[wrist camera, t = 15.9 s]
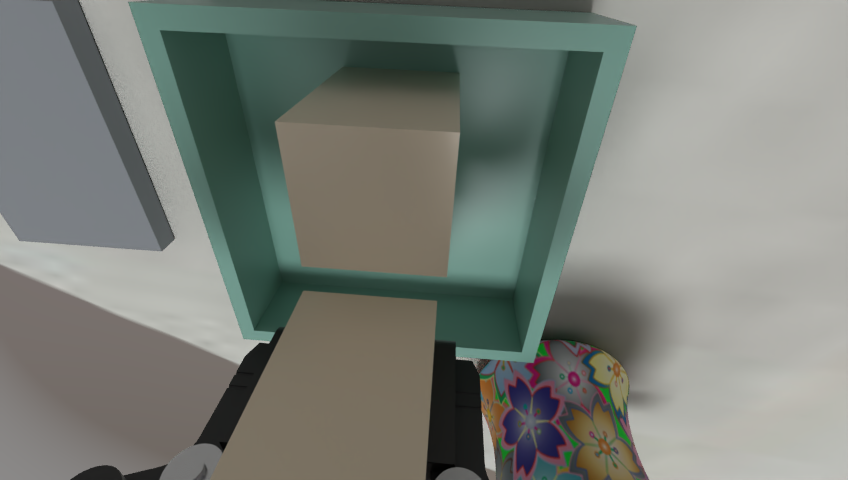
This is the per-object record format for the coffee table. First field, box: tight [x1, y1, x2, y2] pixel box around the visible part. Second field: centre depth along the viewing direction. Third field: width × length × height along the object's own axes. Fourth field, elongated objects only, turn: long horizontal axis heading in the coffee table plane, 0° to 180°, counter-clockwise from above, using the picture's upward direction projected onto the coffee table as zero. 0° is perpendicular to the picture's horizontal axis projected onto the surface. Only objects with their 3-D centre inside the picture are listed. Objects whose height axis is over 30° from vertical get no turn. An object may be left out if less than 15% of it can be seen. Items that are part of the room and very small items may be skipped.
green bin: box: [128, 0, 637, 363], centre depth 15 cm, size 13×13×4 cm
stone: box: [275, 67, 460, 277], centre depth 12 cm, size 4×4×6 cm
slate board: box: [0, 0, 174, 251], centre depth 16 cm, size 10×7×1 cm
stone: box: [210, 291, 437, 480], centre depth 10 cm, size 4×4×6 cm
